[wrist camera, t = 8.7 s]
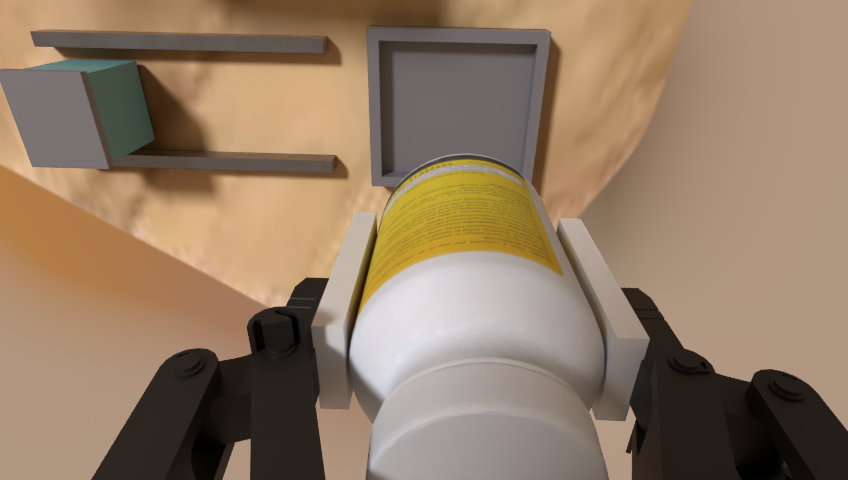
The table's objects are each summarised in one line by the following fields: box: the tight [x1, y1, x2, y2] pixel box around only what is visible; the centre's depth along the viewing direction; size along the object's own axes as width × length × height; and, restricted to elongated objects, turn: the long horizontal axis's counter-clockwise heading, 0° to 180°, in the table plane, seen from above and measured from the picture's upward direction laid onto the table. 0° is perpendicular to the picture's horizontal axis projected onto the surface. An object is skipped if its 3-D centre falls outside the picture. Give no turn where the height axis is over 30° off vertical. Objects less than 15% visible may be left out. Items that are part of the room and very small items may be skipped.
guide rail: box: [30, 30, 336, 173], centre depth 37 cm, size 10×21×2 cm, turn 89°
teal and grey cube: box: [0, 59, 155, 169], centre depth 35 cm, size 6×5×6 cm
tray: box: [367, 25, 551, 187], centre depth 37 cm, size 12×13×2 cm
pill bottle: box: [349, 154, 609, 480], centre depth 14 cm, size 6×6×12 cm
